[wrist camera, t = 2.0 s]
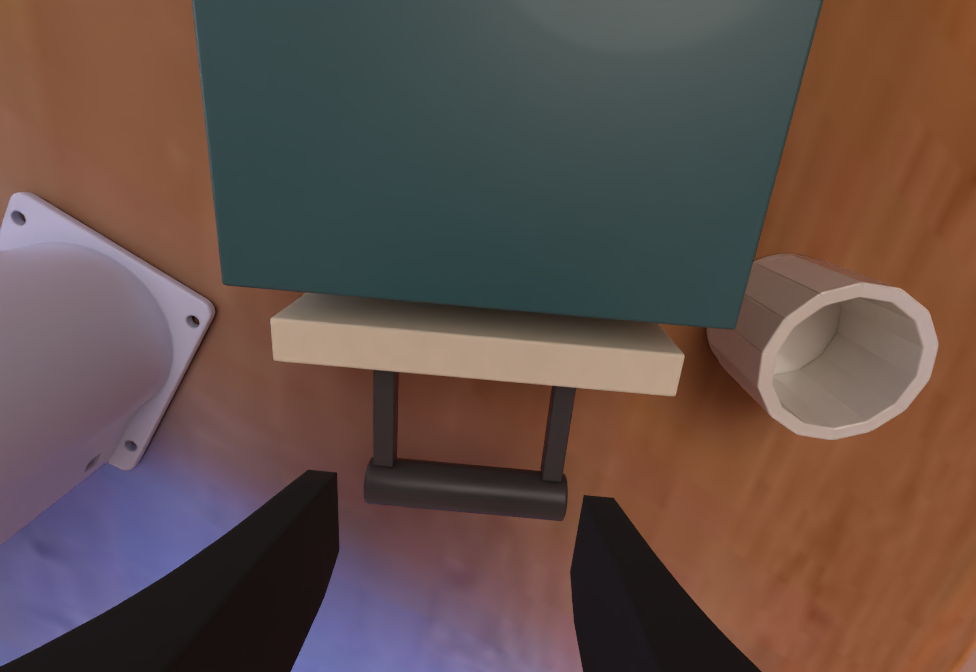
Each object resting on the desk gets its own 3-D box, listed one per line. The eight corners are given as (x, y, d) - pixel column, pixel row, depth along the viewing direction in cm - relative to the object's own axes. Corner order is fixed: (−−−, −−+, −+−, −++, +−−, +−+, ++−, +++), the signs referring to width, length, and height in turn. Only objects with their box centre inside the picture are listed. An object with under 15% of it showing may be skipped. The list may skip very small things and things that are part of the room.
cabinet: (645, 257, 19) (736, 331, 11) (336, 231, 19) (221, 285, 11) (737, -225, 14) (1002, -659, 6) (323, -257, 14) (110, -719, 7)
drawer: (603, 433, 21) (640, 549, 15) (348, 410, 21) (283, 515, 15) (700, -95, 14) (832, -263, 9) (337, -124, 15) (220, -309, 9)
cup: (774, 402, 21) (841, 467, 16) (677, 332, 20) (722, 382, 16) (873, 304, 19) (976, 348, 15) (773, 224, 18) (852, 247, 14)
